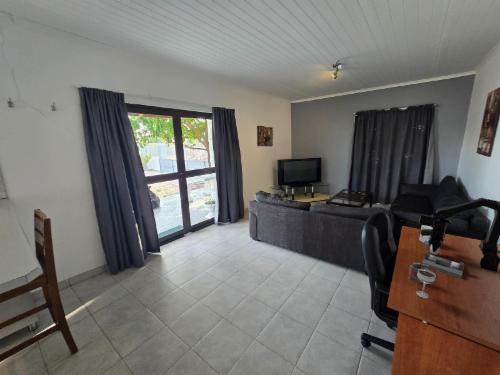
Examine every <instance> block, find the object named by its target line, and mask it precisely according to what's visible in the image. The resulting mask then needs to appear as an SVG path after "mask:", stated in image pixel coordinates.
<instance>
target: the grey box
mask: <svg viewBox="0 0 500 375" xmlns="http://www.w3.org/2000/svg"><path fill="white" fill-rule="evenodd" d="M418 269H426V270H429V271H430V268H428V265H425V264H422V263H421V262H412V264H410V265H409V271H408V275H407V276H408V277H407V279H408V280H409V281H413V282H416V283H421V284H423V282H421V281H420V280H419V279H418V277H417V273H418Z"/></svg>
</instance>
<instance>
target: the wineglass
mask: <svg viewBox="0 0 500 375" xmlns="http://www.w3.org/2000/svg"><path fill="white" fill-rule="evenodd" d="M436 276H437V275H436V274H435V273H434V272H433V271H431V270H430V269H429V270H426V269H418V273H417V277H418V279H419V280H420V281H421V282H423V283H422V290H416V291H415V294H416V295H417V296H419V297H420V298H423V299H428V298H430V296H429V294H428V293H426V292H425V287H426V285H431V284H434V283H435V281H436Z"/></svg>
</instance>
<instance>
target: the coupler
mask: <svg viewBox="0 0 500 375" xmlns="http://www.w3.org/2000/svg"><path fill="white" fill-rule="evenodd" d="M440 248H441V247H439V248H438V249H437V251H436V252H433V249H432V244H431V246H430V248H429V253H430V254H431V255H439V253H440Z"/></svg>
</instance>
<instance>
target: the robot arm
mask: <svg viewBox="0 0 500 375" xmlns="http://www.w3.org/2000/svg"><path fill="white" fill-rule="evenodd" d="M481 207H484V208H488V209H491V210H494V212H493V213H494V216H493V220H492V223H491V224H490V225H491V226H490V229H489V231H488V234H487V236H486V239H484V240H482V239H481V240H479V241H480V244H479V245H478V248H479V250H480V251H481V254H482V255H483V256H482V257H480V261H479V267H480V268H481V269H483V270H487V271H489V272H490V271H491V272H493V273H498V269H499V265H500V255H499V254H498V252H499V251H498V249H499V248H498V242H499V239H500V201H498V200H494V199H489V198H485V197H478V198H477V199H473V200H470V201H466V202H464V203H460V204H456V205H454V206H443V207H439V208H437V209H436V211H435V212H434V213H432V214H431V215H427V214H423V213H422V214H420V217H419V220H418V225H420V226H422V225H425V226H430V227H432V226H433V227H432V228H433V229H422V230H421V229H420V233H421V235H422V236H430V237H431V238H430V239H429V241H428V243H429V244H432V249H433V252H436V251H437V249H438V248H439V247H440V248H441V247H442V246H443V242H444V240H445V238H446V233H445V232H446V229H447V224H450V225H451V224H452V221H451V220H450V219H449V218H451V217H453V216H455V215H458V214H460V213H464V212H467V211H471V210H474V209H478V208H481Z"/></svg>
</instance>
